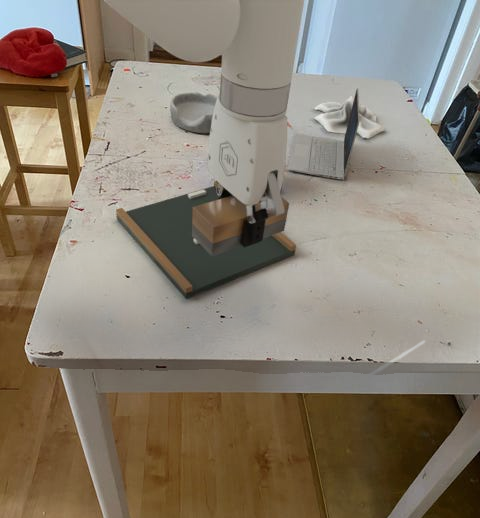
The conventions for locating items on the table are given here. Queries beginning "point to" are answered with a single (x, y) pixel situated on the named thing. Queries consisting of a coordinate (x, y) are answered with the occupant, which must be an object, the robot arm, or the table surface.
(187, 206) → the slate board
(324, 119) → the cloth
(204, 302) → the table surface
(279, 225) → the eraser
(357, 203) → the table surface
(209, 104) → the dish
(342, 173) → the laptop
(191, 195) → the off-white bar
